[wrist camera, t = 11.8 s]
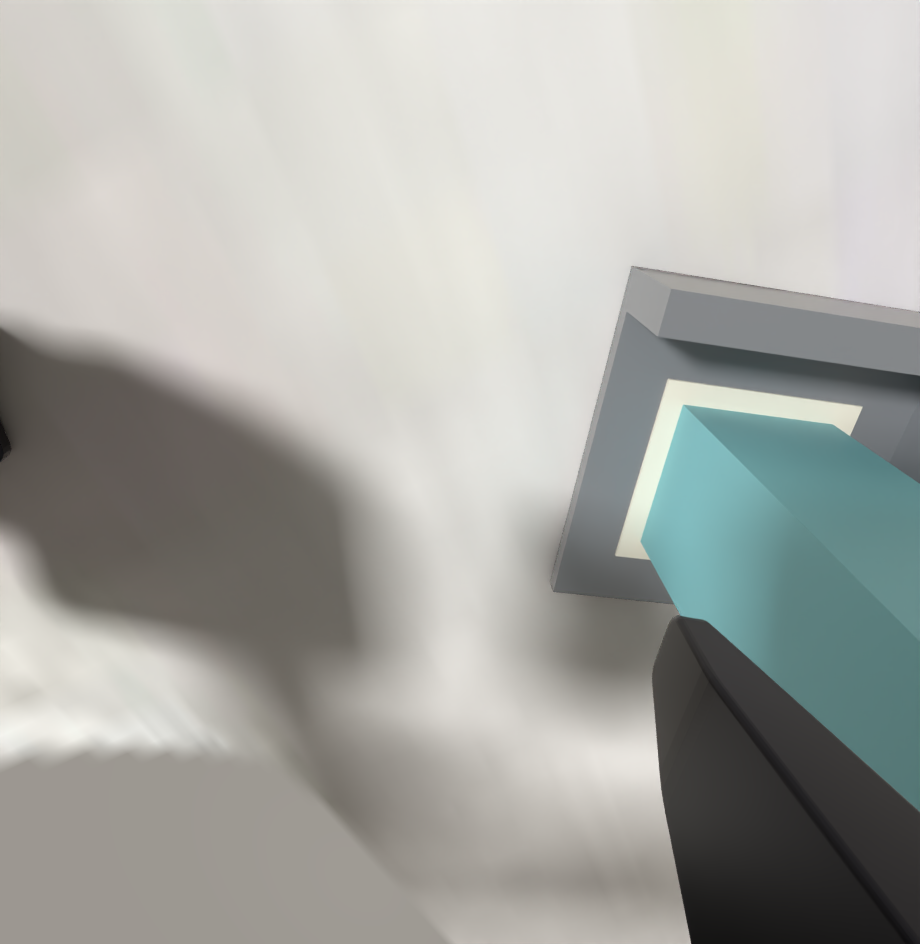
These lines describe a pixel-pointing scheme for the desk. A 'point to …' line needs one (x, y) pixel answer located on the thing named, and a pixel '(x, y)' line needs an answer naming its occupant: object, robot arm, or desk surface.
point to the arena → (725, 400)
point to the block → (801, 569)
